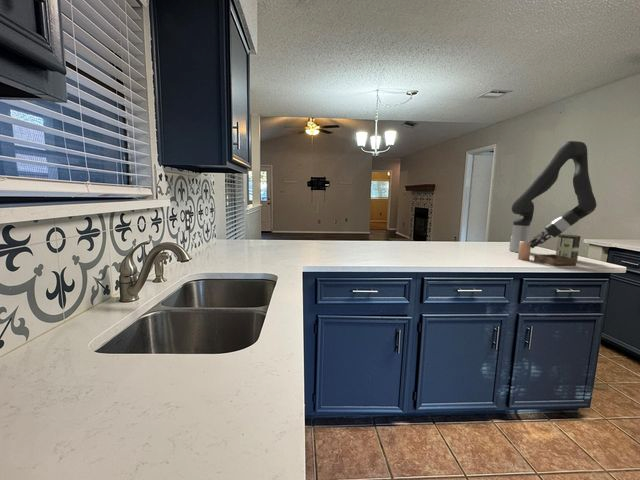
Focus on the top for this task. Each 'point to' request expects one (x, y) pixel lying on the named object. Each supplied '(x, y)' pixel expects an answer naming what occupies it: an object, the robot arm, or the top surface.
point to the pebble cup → (524, 250)
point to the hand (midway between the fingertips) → (529, 246)
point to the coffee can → (568, 246)
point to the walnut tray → (555, 260)
